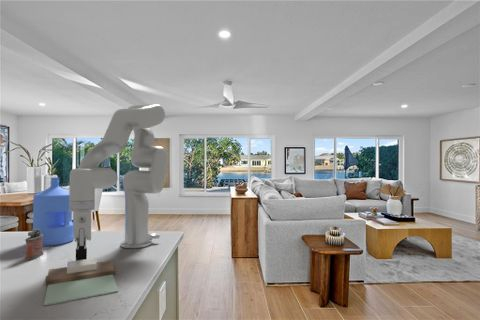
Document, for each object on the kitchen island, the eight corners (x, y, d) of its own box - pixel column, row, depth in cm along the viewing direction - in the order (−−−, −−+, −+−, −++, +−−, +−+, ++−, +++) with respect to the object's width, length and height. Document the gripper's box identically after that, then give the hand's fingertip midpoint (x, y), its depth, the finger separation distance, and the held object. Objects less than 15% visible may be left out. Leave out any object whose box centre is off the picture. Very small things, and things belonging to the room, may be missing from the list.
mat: (113, 275, 92) (113, 274, 92) (118, 291, 81) (118, 290, 81) (48, 286, 84) (48, 284, 84) (43, 306, 72) (43, 304, 72)
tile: (95, 263, 98) (95, 258, 98) (96, 269, 93) (96, 263, 93) (67, 267, 94) (67, 261, 95) (66, 273, 89) (67, 267, 89)
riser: (111, 265, 101) (111, 260, 101) (114, 275, 92) (114, 270, 92) (48, 274, 93) (49, 269, 93) (46, 286, 84) (46, 280, 84)
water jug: (22, 245, 124) (23, 178, 124) (54, 236, 139) (54, 176, 139) (54, 248, 120) (55, 179, 120) (82, 238, 136) (83, 177, 136)
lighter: (36, 253, 113) (36, 227, 113) (45, 253, 113) (45, 227, 113) (22, 260, 105) (22, 232, 105) (32, 260, 105) (32, 232, 105)
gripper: (95, 207, 94) (94, 265, 94) (93, 202, 107) (92, 252, 107) (68, 209, 90) (67, 269, 90) (69, 203, 103) (68, 255, 103)
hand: (81, 260), depth 98 cm, fingers closed
